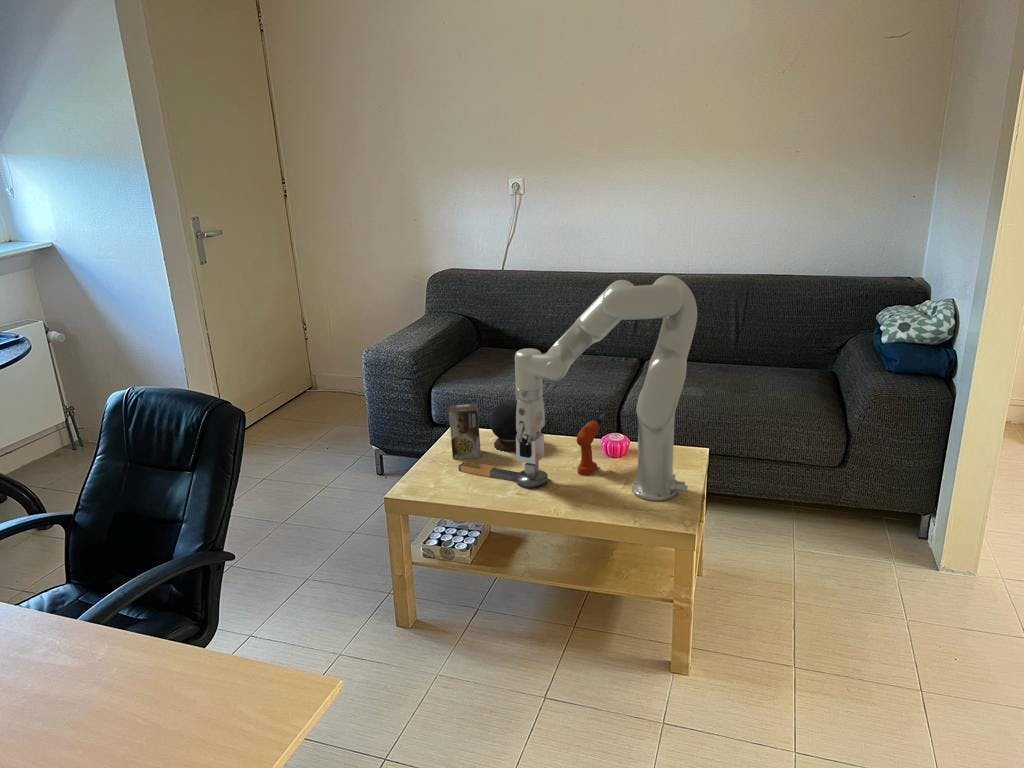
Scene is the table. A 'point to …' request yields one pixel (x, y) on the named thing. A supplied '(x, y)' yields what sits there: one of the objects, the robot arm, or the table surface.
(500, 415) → the black ball on stand
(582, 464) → the toy drill
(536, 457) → the socket
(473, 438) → the coffee box
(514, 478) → the ratchet
